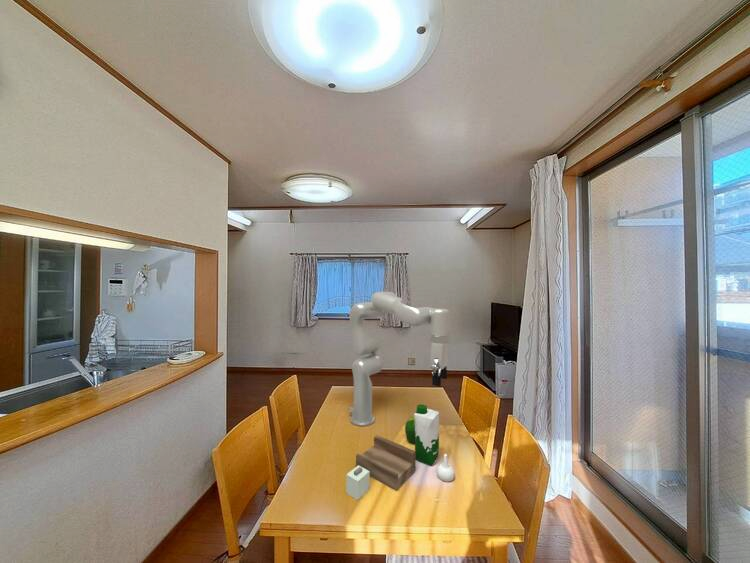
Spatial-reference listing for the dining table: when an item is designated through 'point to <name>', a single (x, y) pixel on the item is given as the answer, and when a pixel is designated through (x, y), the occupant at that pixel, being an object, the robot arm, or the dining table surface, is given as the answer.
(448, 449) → the dining table surface
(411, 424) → the bell pepper
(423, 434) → the milk carton
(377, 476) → the shelf
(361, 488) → the cabinet
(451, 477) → the garlic bulb
